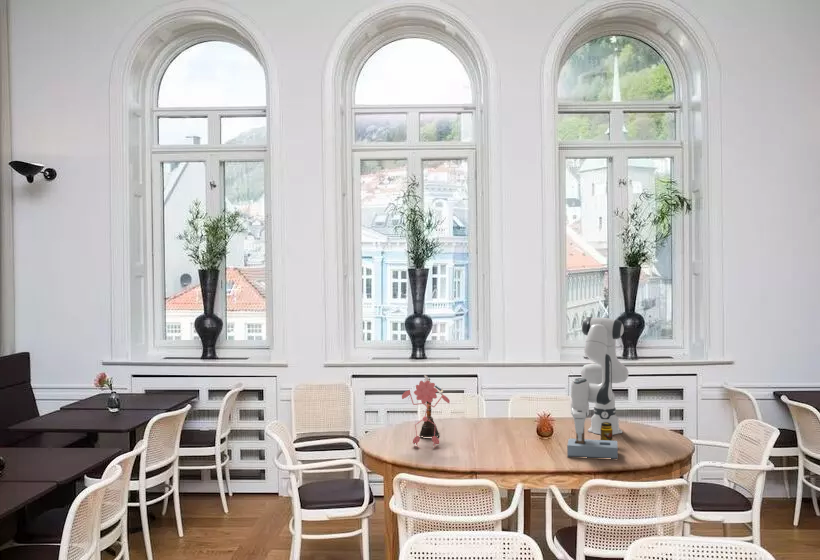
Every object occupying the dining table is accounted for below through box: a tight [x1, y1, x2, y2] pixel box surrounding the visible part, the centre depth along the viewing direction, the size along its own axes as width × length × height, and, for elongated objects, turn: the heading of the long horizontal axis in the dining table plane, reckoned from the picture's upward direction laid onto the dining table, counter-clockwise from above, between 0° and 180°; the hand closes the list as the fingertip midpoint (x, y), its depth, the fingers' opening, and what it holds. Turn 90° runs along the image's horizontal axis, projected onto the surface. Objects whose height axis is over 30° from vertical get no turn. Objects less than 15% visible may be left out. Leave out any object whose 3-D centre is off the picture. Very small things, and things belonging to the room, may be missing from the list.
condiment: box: [600, 422, 614, 441], centre depth 374 cm, size 7×8×12 cm
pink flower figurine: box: [401, 380, 451, 447], centre depth 380 cm, size 15×26×35 cm, turn 83°
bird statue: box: [418, 374, 444, 437], centre depth 399 cm, size 17×13×35 cm
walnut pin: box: [575, 431, 585, 444], centre depth 358 cm, size 4×4×14 cm
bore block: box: [566, 438, 619, 460], centre depth 356 cm, size 14×24×6 cm, turn 75°
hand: (580, 438), depth 358 cm, fingers open, 8 cm apart
